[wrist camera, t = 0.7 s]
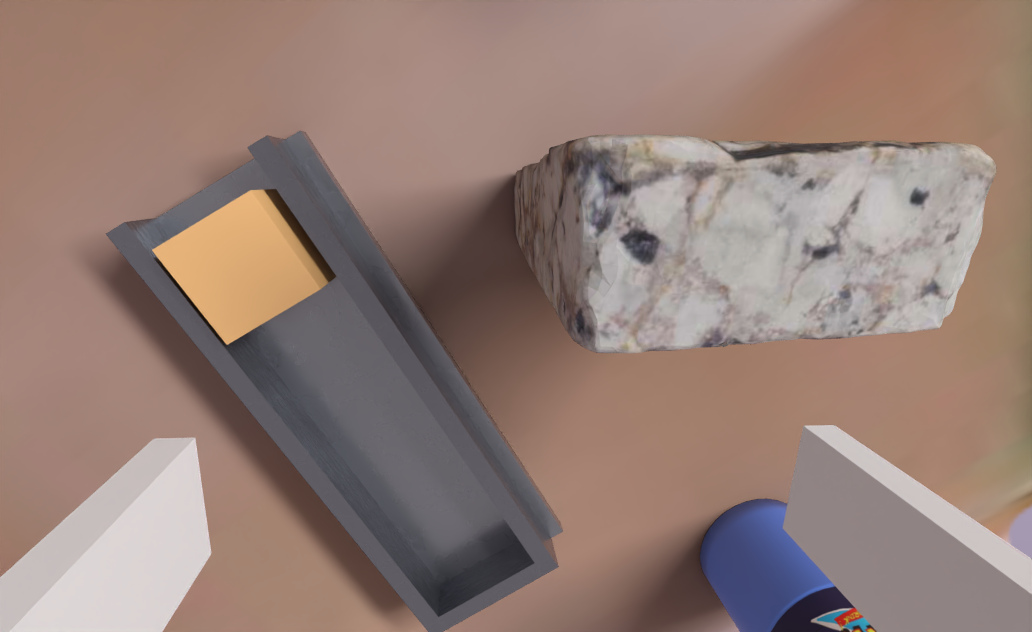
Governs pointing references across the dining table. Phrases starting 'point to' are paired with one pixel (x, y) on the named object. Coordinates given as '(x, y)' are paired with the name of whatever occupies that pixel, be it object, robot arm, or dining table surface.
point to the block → (245, 263)
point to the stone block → (748, 237)
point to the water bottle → (771, 575)
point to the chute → (368, 401)
